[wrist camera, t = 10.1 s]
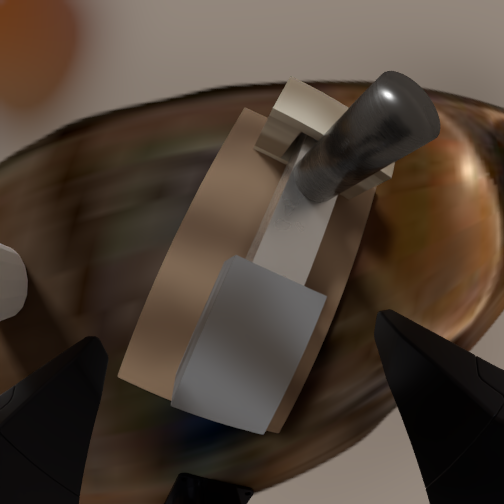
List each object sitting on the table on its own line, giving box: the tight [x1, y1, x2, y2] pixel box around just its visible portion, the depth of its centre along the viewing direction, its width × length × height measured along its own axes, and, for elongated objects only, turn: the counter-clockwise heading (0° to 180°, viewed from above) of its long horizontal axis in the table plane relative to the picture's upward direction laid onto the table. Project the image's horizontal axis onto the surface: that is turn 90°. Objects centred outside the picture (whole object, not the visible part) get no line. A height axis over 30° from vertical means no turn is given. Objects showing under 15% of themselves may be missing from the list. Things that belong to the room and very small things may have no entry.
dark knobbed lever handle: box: [245, 71, 440, 286], centre depth 12 cm, size 15×3×11 cm, turn 156°
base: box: [117, 76, 395, 435], centre depth 16 cm, size 21×12×6 cm, turn 156°
